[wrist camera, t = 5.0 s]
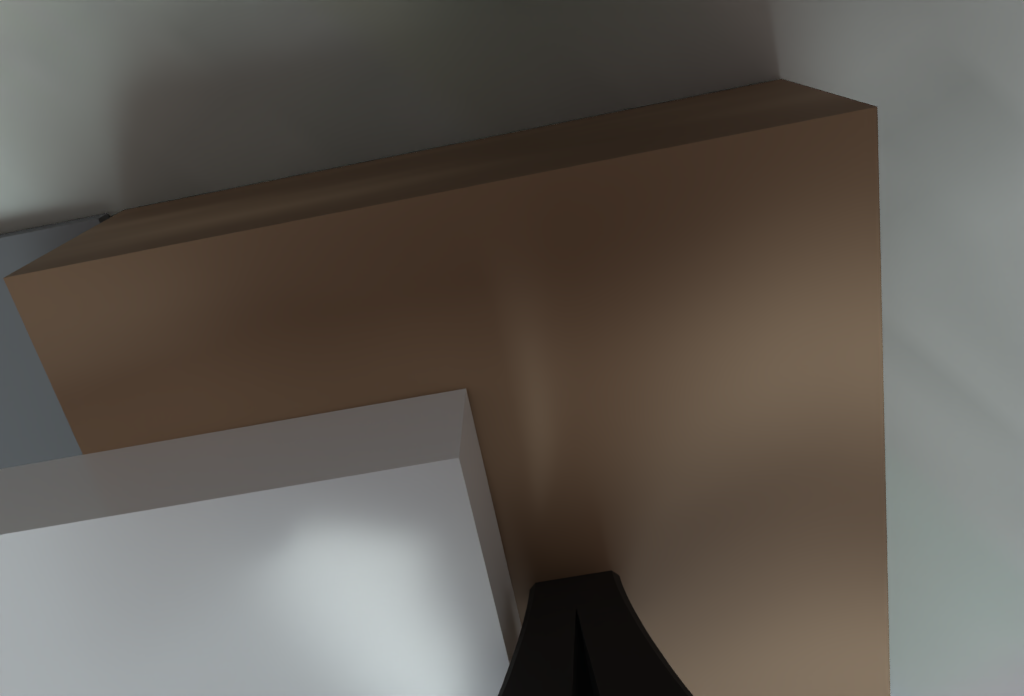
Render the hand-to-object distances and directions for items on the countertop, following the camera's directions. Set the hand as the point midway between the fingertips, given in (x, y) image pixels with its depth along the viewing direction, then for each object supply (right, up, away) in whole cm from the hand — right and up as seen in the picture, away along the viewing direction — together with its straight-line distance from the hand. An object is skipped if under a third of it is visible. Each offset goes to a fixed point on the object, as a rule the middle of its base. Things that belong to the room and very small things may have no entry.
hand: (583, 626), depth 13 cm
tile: (-5, -1, +1) cm, 5 cm away
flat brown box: (-1, +2, +4) cm, 5 cm away
